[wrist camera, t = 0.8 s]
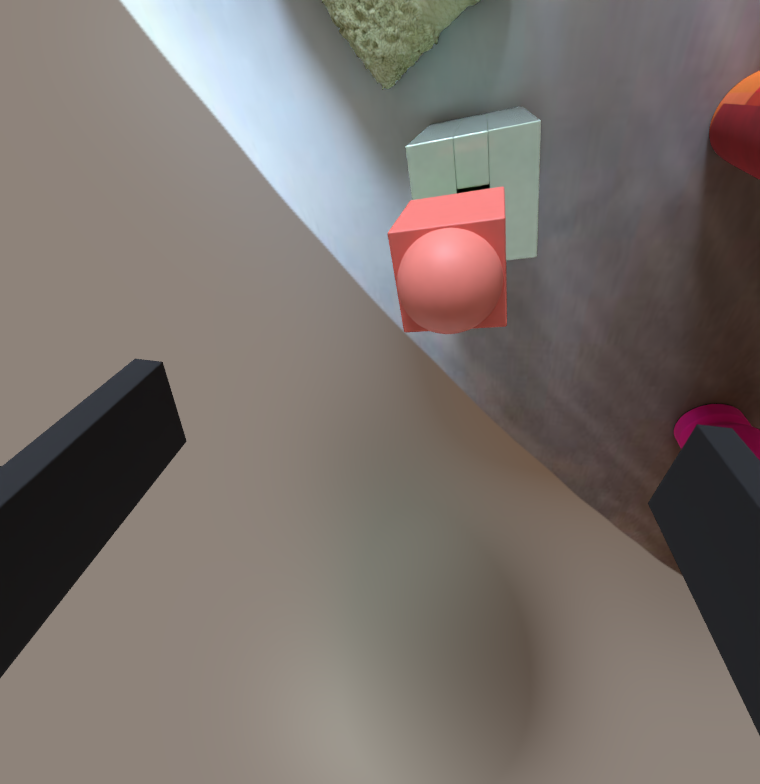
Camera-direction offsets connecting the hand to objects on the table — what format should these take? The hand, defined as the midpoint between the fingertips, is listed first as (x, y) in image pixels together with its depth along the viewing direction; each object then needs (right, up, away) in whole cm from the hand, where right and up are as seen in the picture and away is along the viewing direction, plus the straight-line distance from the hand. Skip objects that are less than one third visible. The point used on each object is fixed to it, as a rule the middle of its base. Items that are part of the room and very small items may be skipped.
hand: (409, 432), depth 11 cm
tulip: (+7, +19, +22) cm, 30 cm away
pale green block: (+7, +20, +23) cm, 31 cm away
